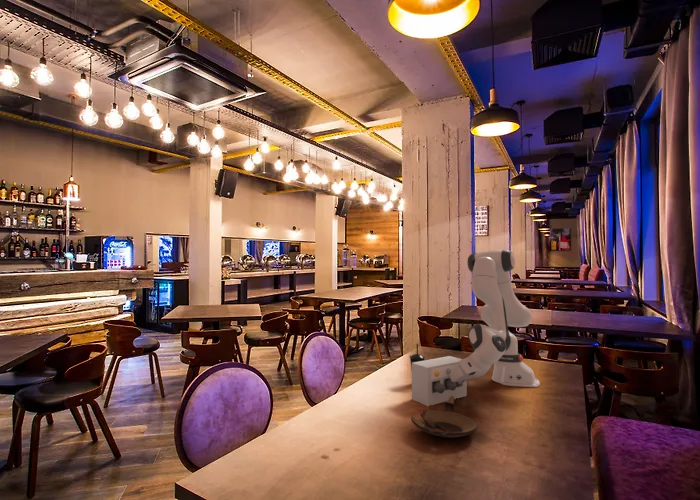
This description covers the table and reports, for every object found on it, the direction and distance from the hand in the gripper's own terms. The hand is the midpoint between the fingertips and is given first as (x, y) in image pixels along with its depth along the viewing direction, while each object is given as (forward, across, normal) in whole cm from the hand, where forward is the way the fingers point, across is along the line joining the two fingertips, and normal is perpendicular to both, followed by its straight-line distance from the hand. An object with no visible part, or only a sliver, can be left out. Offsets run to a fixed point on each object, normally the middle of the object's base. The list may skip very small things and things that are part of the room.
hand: (460, 381), depth 173 cm
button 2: (+1, +7, +2) cm, 7 cm away
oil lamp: (-10, +30, +20) cm, 38 cm away
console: (+9, +7, +1) cm, 12 cm away
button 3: (+1, +14, +2) cm, 14 cm away
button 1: (+3, 0, 0) cm, 3 cm away
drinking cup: (+23, +2, -13) cm, 27 cm away
